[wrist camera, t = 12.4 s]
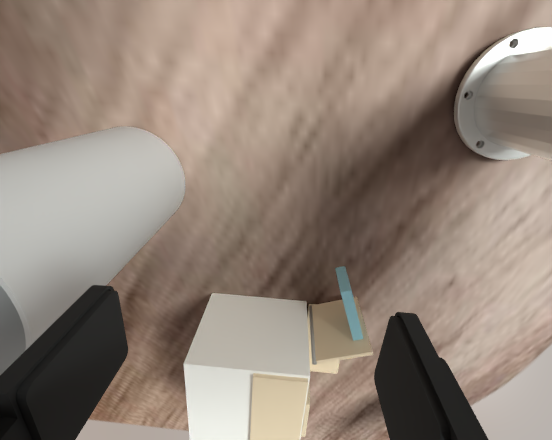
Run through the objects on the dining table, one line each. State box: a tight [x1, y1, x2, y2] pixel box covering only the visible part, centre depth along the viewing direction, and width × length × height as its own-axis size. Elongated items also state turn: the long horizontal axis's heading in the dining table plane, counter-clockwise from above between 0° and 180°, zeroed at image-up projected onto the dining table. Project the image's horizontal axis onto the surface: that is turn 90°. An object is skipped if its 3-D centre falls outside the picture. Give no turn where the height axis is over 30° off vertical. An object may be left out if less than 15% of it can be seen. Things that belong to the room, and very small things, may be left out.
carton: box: [184, 293, 340, 440], centre depth 42 cm, size 20×14×13 cm
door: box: [309, 266, 373, 365], centre depth 37 cm, size 8×7×10 cm
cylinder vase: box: [0, 126, 185, 375], centre depth 27 cm, size 12×12×25 cm
